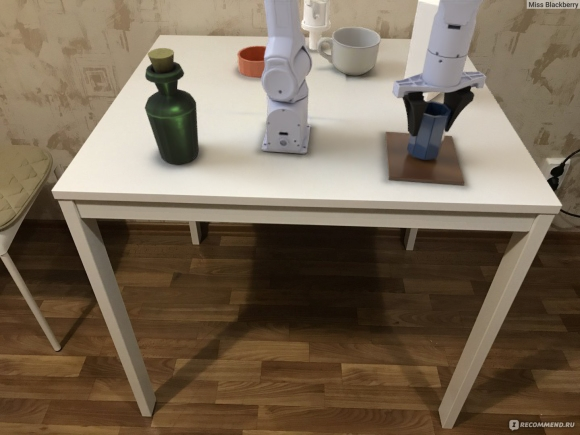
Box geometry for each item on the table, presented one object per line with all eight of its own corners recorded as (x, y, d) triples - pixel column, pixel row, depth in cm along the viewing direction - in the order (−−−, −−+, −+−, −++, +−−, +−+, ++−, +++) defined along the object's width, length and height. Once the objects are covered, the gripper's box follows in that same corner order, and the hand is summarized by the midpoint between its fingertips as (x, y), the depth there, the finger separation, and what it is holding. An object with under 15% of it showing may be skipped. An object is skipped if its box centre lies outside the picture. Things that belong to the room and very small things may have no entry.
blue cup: (416, 161, 76) (425, 118, 71) (403, 144, 80) (411, 102, 74) (444, 157, 77) (456, 114, 72) (430, 140, 81) (440, 99, 75)
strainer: (295, 49, 114) (296, -16, 104) (312, 41, 118) (315, -22, 108) (317, 57, 111) (320, -10, 101) (334, 48, 115) (339, -17, 105)
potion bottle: (194, 170, 77) (177, 66, 64) (148, 165, 78) (123, 62, 65) (209, 143, 82) (195, 44, 70) (166, 139, 83) (145, 40, 71)
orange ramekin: (275, 80, 101) (274, 63, 99) (235, 78, 102) (233, 60, 99) (280, 63, 108) (280, 46, 105) (242, 61, 109) (241, 44, 106)
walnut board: (463, 185, 74) (464, 182, 73) (388, 179, 75) (389, 176, 74) (451, 138, 84) (452, 135, 84) (385, 134, 85) (385, 131, 85)
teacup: (375, 61, 109) (380, 27, 104) (377, 81, 101) (382, 45, 96) (317, 58, 110) (318, 24, 105) (314, 78, 102) (316, 43, 97)
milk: (426, 104, 94) (452, -12, 79) (400, 94, 97) (420, -19, 82) (440, 93, 97) (467, -20, 82) (415, 84, 100) (437, -26, 85)
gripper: (477, 35, 71) (455, 114, 80) (390, 44, 68) (378, 124, 77) (503, 53, 66) (477, 135, 75) (410, 63, 63) (395, 146, 72)
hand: (428, 131), depth 76 cm, fingers closed on blue cup, 5 cm apart
